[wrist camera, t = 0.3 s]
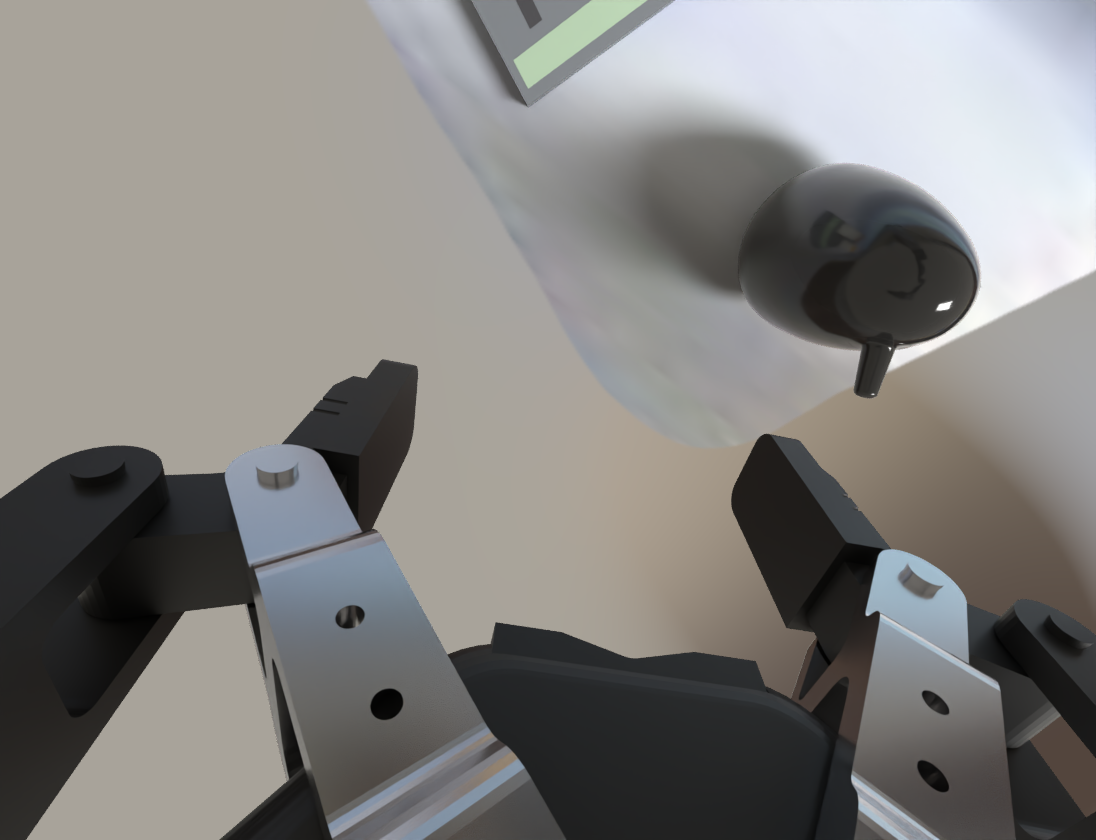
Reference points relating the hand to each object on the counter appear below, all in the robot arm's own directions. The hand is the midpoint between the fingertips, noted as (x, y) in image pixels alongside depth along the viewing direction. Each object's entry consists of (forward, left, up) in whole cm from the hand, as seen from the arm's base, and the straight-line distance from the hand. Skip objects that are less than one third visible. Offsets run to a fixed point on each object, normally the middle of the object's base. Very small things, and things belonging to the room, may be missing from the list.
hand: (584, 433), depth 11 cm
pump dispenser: (-5, +15, -27) cm, 31 cm away
